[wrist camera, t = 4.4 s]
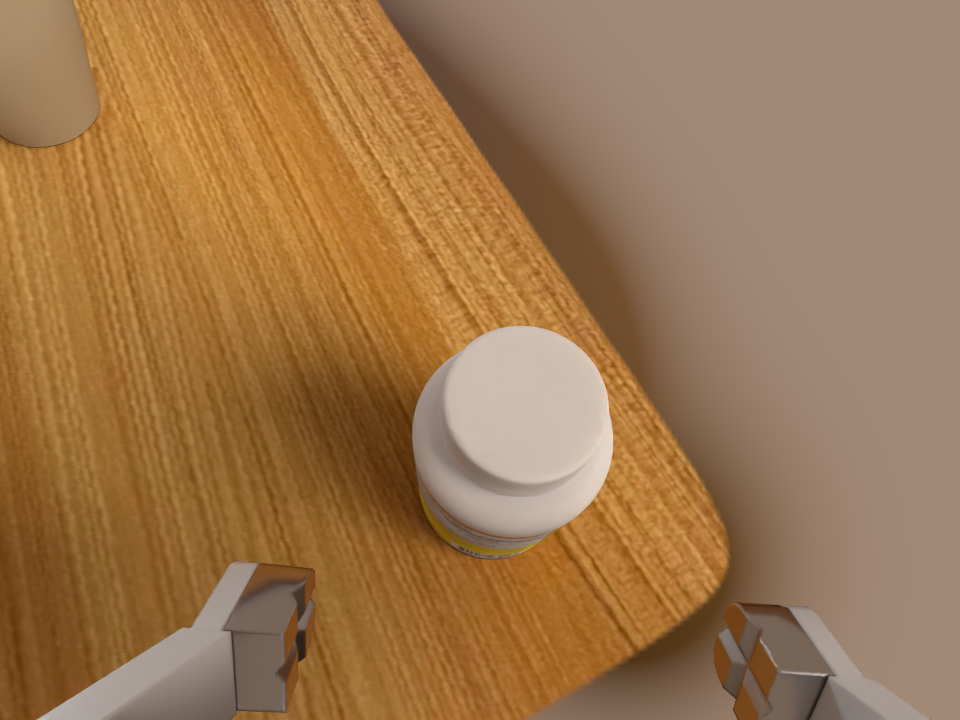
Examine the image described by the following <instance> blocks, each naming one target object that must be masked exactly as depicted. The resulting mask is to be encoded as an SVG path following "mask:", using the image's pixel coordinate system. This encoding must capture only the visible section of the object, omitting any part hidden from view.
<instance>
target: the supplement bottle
mask: <svg viewBox="0 0 960 720" xmlns="http://www.w3.org/2000/svg"><path fill="white" fill-rule="evenodd" d="M412 444H413V454H414V459H415V466H416V473H417V479H418V486H419V493H420V499H421V504H422V508H423V510H424V513H425V515H426V517H427V519H428V521H429V523H430V525H431V527H432V528H433V530H434V531H435V532H436V533H437V534H438V536H439V537H440V538H441V539H442V540H443V541H444V542H446V543H447V544H448V545H449V546H451V547H452V548H454V549H455V550H457V551H459V552H461V553H463V554H465V555H468V556H471V557H474V558H478V559H485V560H496V559H504V558H509V557H513V556H516V555H518V554H520V553H523V552H525V551H527V550H528V549H530V548H532V547H533V546H535V545H536V544H538V543H539V542H541V541H542V540H544V539H545V538H547V537H548V536H550V535H551V534H553V533H554V532H556V531H557V530H559V529H560V528H562V527H563V526H565V525H566V524H567V523H568V522H570V521H571V520H572V519H573V518H575V517H576V516H577V515H579V514H580V513H581V512H582V511H583V510H584V509H585V508H586V507H587V506H588V505H589V504H590V503H591V502H592V500H593V499H594V498H595V497H596V495H597V494H598V492H599V490H600V489H601V487H602V485H603V483H604V481H605V478H606V476H607V473H608V470H609V467H610V464H611V458H612V451H613V430H612V423H611V418H610V414H609V405H608V396H607V392H606V388H605V385H604V382H603V380H602V377H601V375H600V373H599V371H598V369H597V368H596V366H595V364H594V363H593V362H592V360H591V359H590V358H589V357H588V356H587V355H586V353H585V352H583V351H582V350H581V349H580V348H579V347H578V346H577V345H575V344H574V343H573V342H571V341H570V340H568V339H567V338H565V337H563V336H561V335H559V334H557V333H555V332H552V331H549V330H546V329H542V328H538V327H533V326H509V327H503V328H499V329H496V330H493V331H490V332H488V333H485V334H483V335H481V336H480V337H478V338H476V339H475V340H473V341H472V342H471V343H470V344H468V345H467V346H466V347H465V348H464V349H463V350H462V351H461V352H459V353H457V354H456V355H454V356H453V357H451V358H450V359H448V360H447V361H446V362H445V363H444V364H442V365H441V366H440V367H439V368H438V369H437V370H436V372H435V373H434V374H433V375H432V376H431V378H430V379H429V380H428V382H427V384H426V386H425V387H424V389H423V391H422V393H421V395H420V398H419V400H418V403H417V406H416V409H415V413H414V418H413V426H412Z"/></svg>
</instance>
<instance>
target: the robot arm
mask: <svg viewBox="0 0 960 720" xmlns="http://www.w3.org/2000/svg"><path fill="white" fill-rule="evenodd" d="M314 587H315V571H314V570H313V569H312V568H303V567H293V566H284V565H274V564H265V563H261V564H258V563H249V562H240V561H234V562H233V563H232V564H231V565H229V566H228V568H227V569H226V571H225V572H224V574H223V576H222V577H221V579H220V581H219V582H218V584H217V586H216V587H215V589H214V590H213V592H212V594H211V595H210V597H209V599H208V600H207V602H206V604H205V605H204V607H203V608H202V610H201V612H200V613H199V615H198V617H197V618H196V620H195V622H194V623H193V625H192V626H191V628H181V629H179V630H178V631H176V632H175V633H173V634H171V635H170V636H168V637H167V638H165V639H164V640H162V641H160V642H159V643H157V644H156V645H154V646H152V647H151V648H149V649H148V650H146V651H145V652H143V653H141V654H140V655H138V656H137V657H135V658H133V659H132V660H130V661H129V662H127V663H126V664H124V665H122V666H121V667H119V668H118V669H116V670H114V671H113V672H111V673H110V674H108V675H107V676H105V677H103V678H102V679H100V680H99V681H97V682H95V683H94V684H92V685H91V686H89V687H88V688H86V689H84V690H83V691H81V692H80V693H78V694H76V695H75V696H73V697H72V698H70V699H69V700H67V701H65V702H64V703H62V704H61V705H59V706H58V707H56V708H54V709H53V710H51V711H50V712H48V713H46V714H45V715H43V716H42V717H40V718H39V719H37V720H231V719H232V718H233V717H234V716H235V715H236V714H237V712H236V711H255V712H281V713H286V712H287V709H288V706H289V703H290V701H291V698H292V695H293V692H294V689H295V686H296V683H297V681H298V663H299V662H300V661H301V660H302V659H304V658H305V657H306V654H307V651H308V648H309V645H310V641H311V637H312V632H313V628H314V620H315V602H314V601H313V600H312V599H311V595H312V592H313V590H314ZM724 619H725V621H726V623H727V625H728V627H727V628H725V629H724V630H723V631H721V632H720V633H719V634H718V635H717V638H716V642H715V646H714V664H715V668H716V671H717V675H718V678H719V680H720V682H721V684H722V687H723V688H724V689H725V690H726V691H727V692H728V693H730V694H731V695H732V696H733V697H734V698H735V699H736V701H735V705H734V708H733V711H734V713H735V715H736V717H737V719H738V720H931V719H930V718H928V717H927V716H925V715H923V714H922V713H921V712H919V711H918V710H917V709H915V708H914V707H912V706H911V705H909V704H908V703H906V702H905V701H904V700H902V699H901V698H899V697H897V696H896V695H895V694H893V693H892V692H891V691H889V690H888V689H886V688H885V687H883V686H882V685H880V684H879V683H878V682H876V681H875V680H872V679H865V678H864V677H863V675H862V674H861V673H860V671H859V670H858V669H857V667H856V666H855V665H854V663H853V662H852V661H851V659H850V658H849V657H848V656H847V654H846V653H845V651H844V650H843V648H842V647H841V646H840V645H839V643H838V642H837V640H836V639H835V638H834V637H833V635H832V634H831V632H830V631H829V630H828V628H827V627H826V626H825V624H824V623H823V622H822V621H821V619H820V618H819V616H818V615H817V614H816V612H815V611H813V610H812V609H810V608H809V607H804V606H803V607H802V606H788V605H782V606H780V605H768V604H754V603H741V602H731V603H730V604H729V605H728V607H727V608H726V611H725V614H724Z"/></svg>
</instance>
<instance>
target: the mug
mask: <svg viewBox="0 0 960 720" xmlns="http://www.w3.org/2000/svg"><path fill="white" fill-rule="evenodd" d="M98 113H99V99H98V95H97V91H96V87H95V83H94V79H93V75H92V71H91V67H90V63H89V59H88V55H87V51H86V47H85V43H84V39H83V35H82V31H81V27H80V23H79V19H78V16H77V12H76V9H75V6H74V3H73V0H0V135H1V136H2V137H4V138H5V139H7V140H9V141H11V142H13V143H15V144H18V145H21V146H27V147H48V146H54V145H58V144H62V143H65V142H67V141H70V140H72V139H74V138H76V137H77V136H79V135H81V134H82V133H84V132H85V131H86V130H87V129H88V128H89V127H90V126H91V125H92V124H93V123H94V121H95V120H96V118H97V116H98Z"/></svg>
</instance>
